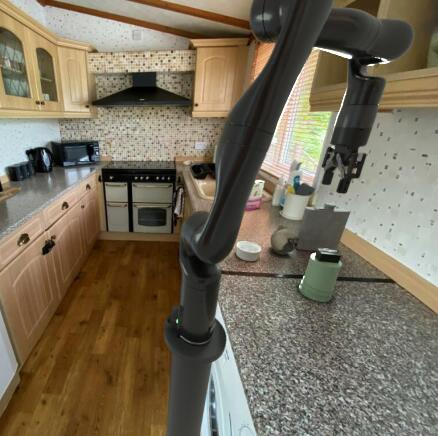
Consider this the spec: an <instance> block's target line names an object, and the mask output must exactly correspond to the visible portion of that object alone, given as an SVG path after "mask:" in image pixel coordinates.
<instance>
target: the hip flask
mask: <svg viewBox="0 0 438 436" xmlns="http://www.w3.org/2000/svg"><path fill="white" fill-rule="evenodd" d="M336 207H337V204H336V203H333V202H325V203H324V206H305V208H304V211H303V213H302V218H301V222H300V225H299V229H298V232H297V234H296V235H297V236H298V238H299V241H298V246H297V247H296V248H295V249H298V250H302V251H310V252H311V251H312V252H316V251H317V249H320V248H326V249H336V251H337V250H338V247H339V245H340V242H341V239H342V237H343V233H344V232H345V228H346V226H347V223H348V220H349V217H350V215H351V213H352V211H351V210H350V209H348V208H336ZM337 252H338V251H337Z"/></svg>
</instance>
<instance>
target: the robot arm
mask: <svg viewBox="0 0 438 436" xmlns="http://www.w3.org/2000/svg"><path fill="white" fill-rule="evenodd" d="M334 4H335V0H252V2H251V5H250V9H249V27H250V30H251V33H252V35H253V37H255V39H256V40H258V41H259V42H261V43H263V44H267V45H274V46H273V49H272V51H271V53H270V55H269V58H268V59H267V61H266V63H265V65H264V66H263V68H262V70H261V71H260V72H259V73H258V75H257V76H256V77H255V78H254V80H253V81H252V82H251V83H250V85H249V86H248V87H247V88H246V89H245V90H244V91H243V93H242V94H241V96H240V97H239V98H238V99H237V100H236V101H235V103H234V104H233V106H232V107H231V109H230V110H229V111H228V113H227V115H226V118H225V120H224V123H223V126H222V129H221V132H220V135H219V138H218V140H217V144H216V149H215V155H214V173H215V175H214V177H215V192H214V196H213V201H212V205H211V207H210V210H209V211H207V210H196V211H194V212H191V214H189V215H188V216H187V217H186V218H185V220H183V223H182V226H181V229H180V234H179V266H180V270H181V275H180V276H181V279H180V291H179V301H178V306H177V305H172V306H171V314H170V315H168V316H167V317H166V320H167V322H168V323H169V324H170V329H176V330H177V335H176V337H177V338H181V339H182V340H183V341H184V342H186V343H187V344H190V345H193V346H203V345H206V344H208V343H209V342H210V341H211V340H212V337H213V329H214V326H215V325H216V322H215V318H216V314H217V310H218V302H219V296H220V290H221V284H222V276H223V272H222V268H221V266H220V263H223V262H224V261H225V260H226V259H227V258H228V257H229V256H230V254H231V253H232V251H233V249H234V247H235V246H236V244H237V243H236V242H237V241H238V235H239V233H240V229H241V226H242V223H243V219H244V215H245V212H246V210H245V209H246V206H247V203H248V200H249V197H250V195H251V192H252V189H253V187H254V184H255V181H256V180H258V179H257V178H258V176H259V174H260V171H261V168H262V167H263V164H264V163H265V162H264V161H265V159H266V157H267V155H268V153H269V150H270V148H271V146H272V143H273V140H274V138H275V136H276V132H277V130H278V127H279V124H280V121H281V119H282V117H283V114H284V112H285V109H286V107H287V105H288V102H289V100H290V98H291V95H292V93H293V91H294V89H295V86H296V84H297V82H298V80H299V78H300V76H301V73H302V72H303V69H304V68H305V65H306V64H307V62H308V60H309V58H310V56H311V54H312V52H313V50H314V49H318V50H321V51H324V52H325V51H326V52H329V53H331V54H334V55H337V56H341V57H343V58H346V60H347V61H346V64H347V65H346V66H347V75H346V76H347V78H346V89H345V93H344V96H343V99H342V102H341V106H340V109H339V111H338V113H337V116H336V119H335V121H334V122H335V123H334V126H333V130H332V133H331V136H330V139H329V144H330V145H332V146H327V148H326V150H325V154H324V157H323V160H322V163H321V168H322V169H323V172H324V173H323V176H322V180H321V182H320V183H321V185H323V186H330V185H331V184H332V181H333V178H334V176H335V172H336V170H338V171H339V172H340V178H339V181H338V183H337V187H336V190H335V192H336V193H337V194H342V195H343V194H344V195H345V194H347V193H348V192H349V189H350V185H351V182H352V181H353V180H354V179H360V177H361V174H362V171H363V168H364V165H365V162H366V159H367V153H366V152H359V148H360V147H361V148H362V147H366V146H367V145H368V142H369V140H370V139H369V138H370V136H371V133H372V130H373V128H374V124H375V121H376V119H377V116H378V111H379V105H380V103H381V100H382V98H383V95H384V92H385V89H386V86H387V79H386V78H385V77H384V76H379V75H369V73H368V66H375V65H382V64H388V63H393V62H395V61H397V60H399V59H400V58H403V57H404V56H405V55H406V53H408V51H409V50H410V49H411V47H412V45H413V44H414V41H415V29H414V27H413V25H412V24H411V23H410V22H408V21H406V20H403V19H397V18H379V17H376V16H374V15H372V14H370V13H369V12H366V11H364V10H362V9H358V8H353V7H339V6H337V7H336V6H334ZM214 322H215V324H214Z"/></svg>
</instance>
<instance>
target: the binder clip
mask: <svg viewBox="0 0 438 436" xmlns="http://www.w3.org/2000/svg"><path fill="white" fill-rule="evenodd" d="M315 253H316V254H315V257H316V258H317V259H318V261H321V262H330V263H339V261H341V259H342V255H341V253H340V252H338V251H336V249H326V248H320V249H317V251H315Z"/></svg>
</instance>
